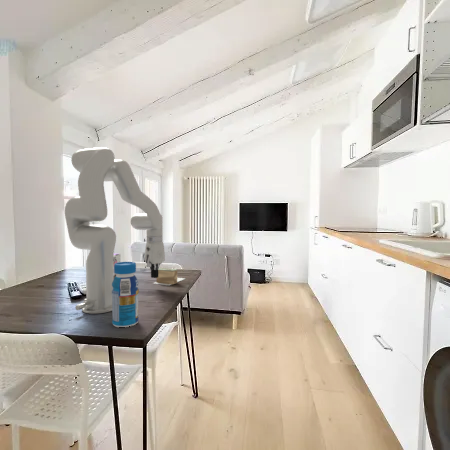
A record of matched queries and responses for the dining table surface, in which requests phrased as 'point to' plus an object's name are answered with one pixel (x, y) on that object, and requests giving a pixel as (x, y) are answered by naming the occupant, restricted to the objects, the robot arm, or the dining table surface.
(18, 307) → the dining table surface
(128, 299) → the beverage bottle
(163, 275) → the oak slab
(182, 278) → the white rectangular board
